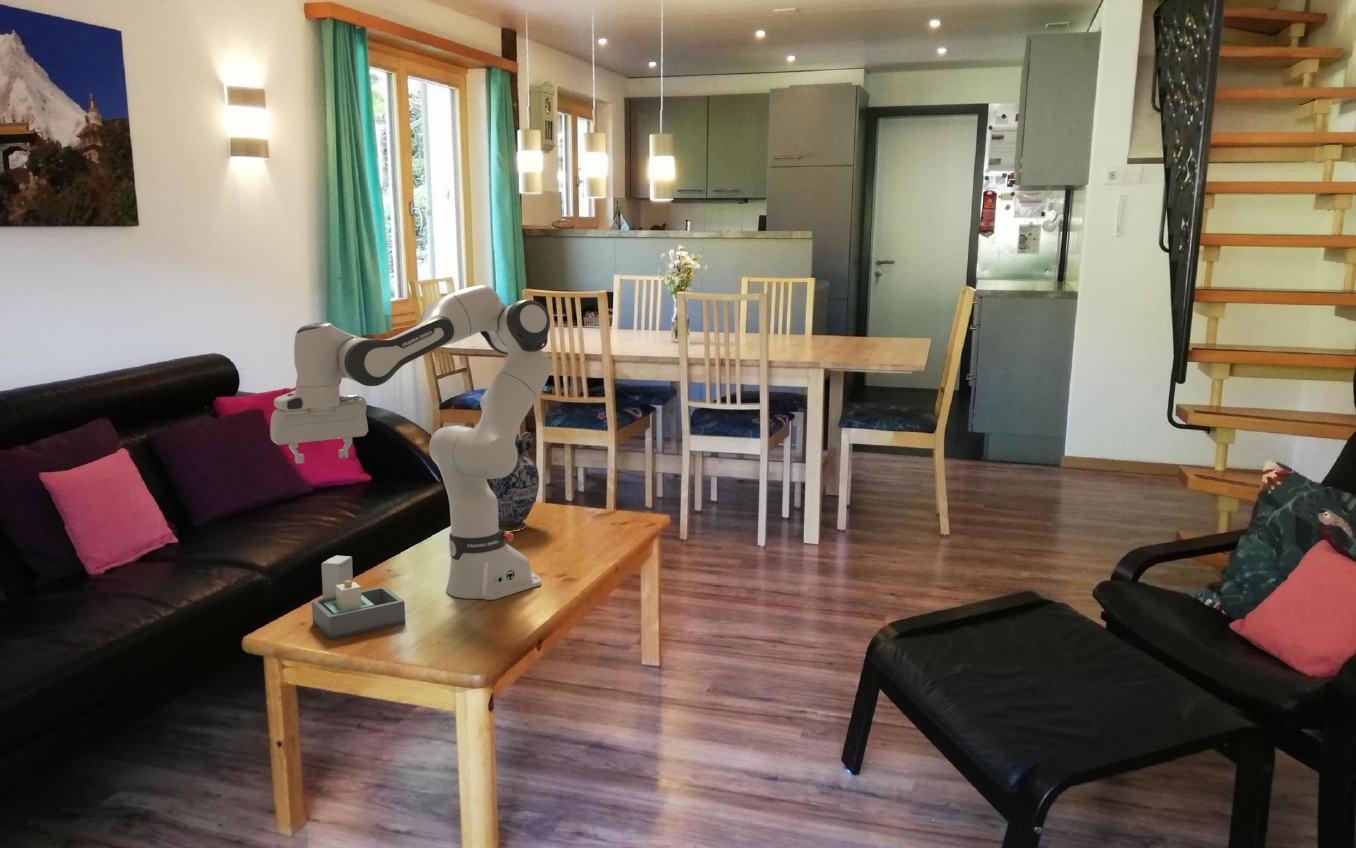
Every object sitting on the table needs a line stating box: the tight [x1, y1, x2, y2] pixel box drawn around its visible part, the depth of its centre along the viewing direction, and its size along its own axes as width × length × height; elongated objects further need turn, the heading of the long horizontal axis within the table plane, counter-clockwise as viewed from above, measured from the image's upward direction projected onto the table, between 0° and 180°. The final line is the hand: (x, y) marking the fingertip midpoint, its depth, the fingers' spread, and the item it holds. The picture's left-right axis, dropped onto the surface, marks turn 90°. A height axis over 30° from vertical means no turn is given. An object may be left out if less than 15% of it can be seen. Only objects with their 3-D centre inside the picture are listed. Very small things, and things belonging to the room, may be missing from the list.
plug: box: [336, 580, 362, 611], centre depth 205 cm, size 4×4×9 cm
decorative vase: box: [486, 431, 540, 531], centre depth 279 cm, size 21×19×28 cm
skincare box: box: [321, 554, 354, 599], centre depth 213 cm, size 6×4×12 cm
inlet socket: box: [323, 595, 374, 615], centre depth 205 cm, size 8×8×4 cm
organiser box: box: [311, 585, 406, 641], centre depth 206 cm, size 16×12×5 cm
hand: (322, 460), depth 210 cm, fingers open, 8 cm apart
